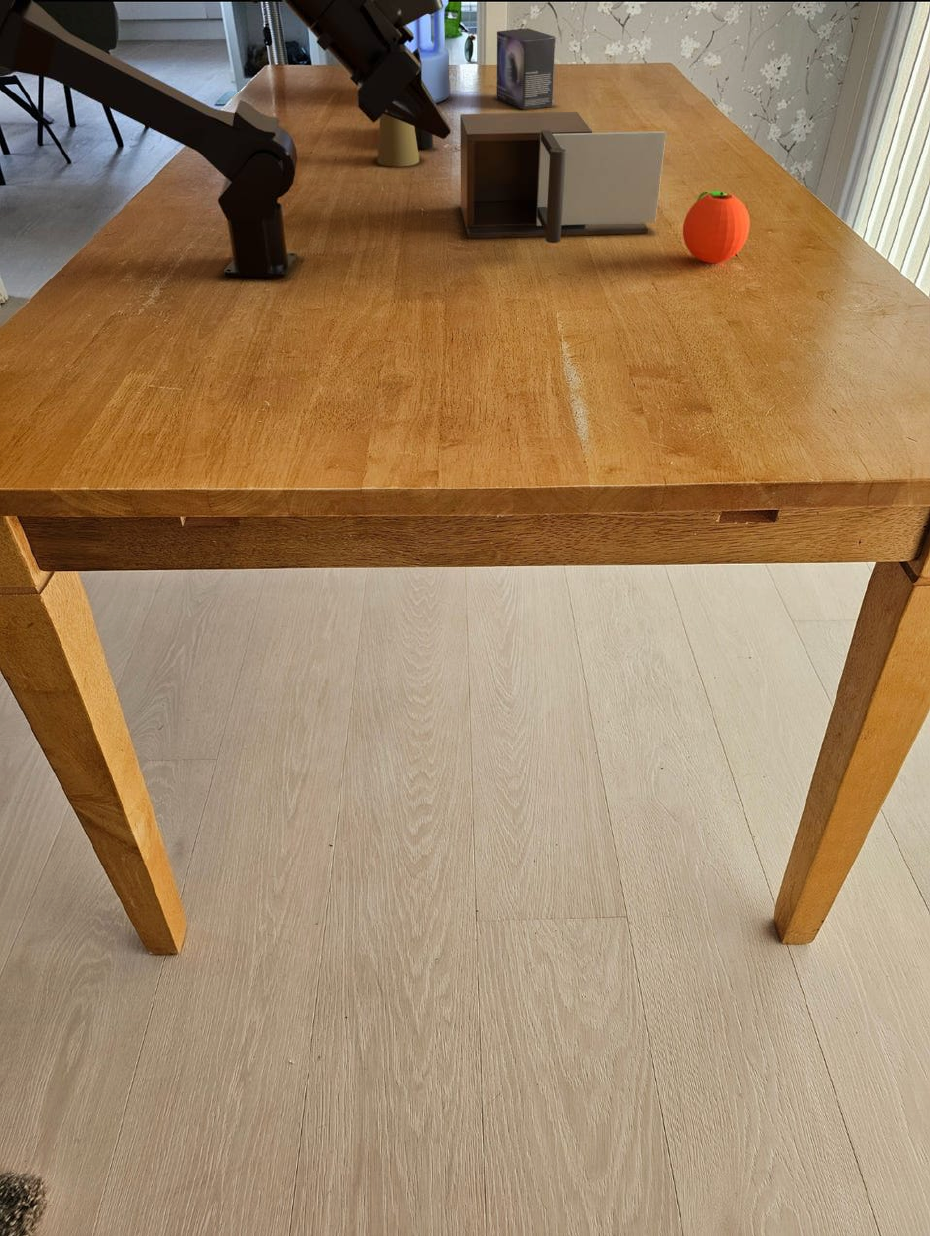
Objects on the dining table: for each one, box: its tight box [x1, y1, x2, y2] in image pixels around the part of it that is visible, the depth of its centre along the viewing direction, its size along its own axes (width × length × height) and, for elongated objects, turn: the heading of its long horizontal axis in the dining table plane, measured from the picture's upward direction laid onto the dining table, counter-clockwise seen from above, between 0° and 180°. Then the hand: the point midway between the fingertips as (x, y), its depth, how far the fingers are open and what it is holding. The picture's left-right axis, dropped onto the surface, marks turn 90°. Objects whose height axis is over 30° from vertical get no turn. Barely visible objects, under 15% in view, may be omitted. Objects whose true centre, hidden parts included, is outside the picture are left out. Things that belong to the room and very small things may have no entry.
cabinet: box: [459, 111, 649, 239], centre depth 110 cm, size 21×12×10 cm, turn 94°
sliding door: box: [536, 130, 667, 244], centre depth 103 cm, size 14×10×10 cm
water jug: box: [404, 0, 451, 104], centre depth 159 cm, size 16×16×28 cm
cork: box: [376, 114, 420, 168], centre depth 131 cm, size 6×6×11 cm
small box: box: [495, 27, 557, 110], centre depth 162 cm, size 11×6×10 cm, turn 25°
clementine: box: [682, 190, 751, 264], centre depth 100 cm, size 8×7×7 cm
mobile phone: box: [414, 126, 434, 150], centre depth 143 cm, size 5×3×15 cm
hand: (447, 134), depth 95 cm, fingers closed
